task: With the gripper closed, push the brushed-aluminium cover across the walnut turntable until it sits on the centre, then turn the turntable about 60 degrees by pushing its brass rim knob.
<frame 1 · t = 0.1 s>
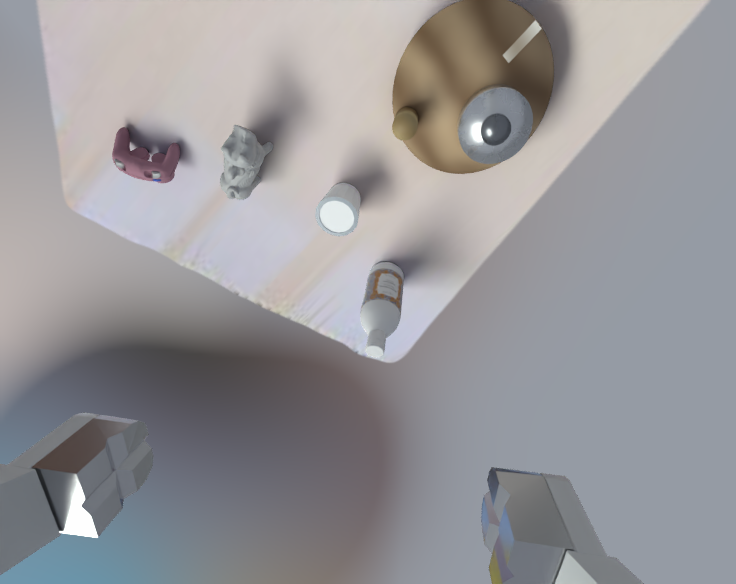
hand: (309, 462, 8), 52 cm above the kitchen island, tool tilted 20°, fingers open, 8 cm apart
cover: (491, 122, 47), point 3 cm above the kitchen island, touching turntable
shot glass: (344, 198, 60), on the kitchen island
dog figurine: (253, 151, 57), on the kitchen island
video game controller: (155, 151, 59), on the kitchen island
bath foam: (386, 274, 69), on the kitchen island
turntable: (470, 99, 44), point 4 cm above the kitchen island, hinge at 0.0°, touching cover
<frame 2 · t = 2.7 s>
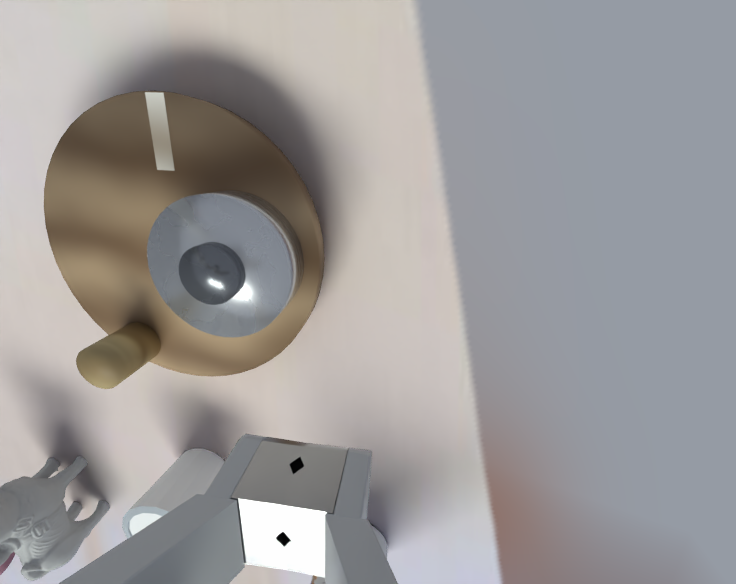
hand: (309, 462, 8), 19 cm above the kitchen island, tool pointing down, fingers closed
cover: (240, 258, 24), point 3 cm above the kitchen island, touching turntable
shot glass: (206, 467, 36), on the kitchen island
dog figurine: (76, 475, 39), on the kitchen island
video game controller: (4, 526, 45), on the kitchen island
turntable: (167, 257, 23), point 4 cm above the kitchen island, hinge at 0.0°, touching cover
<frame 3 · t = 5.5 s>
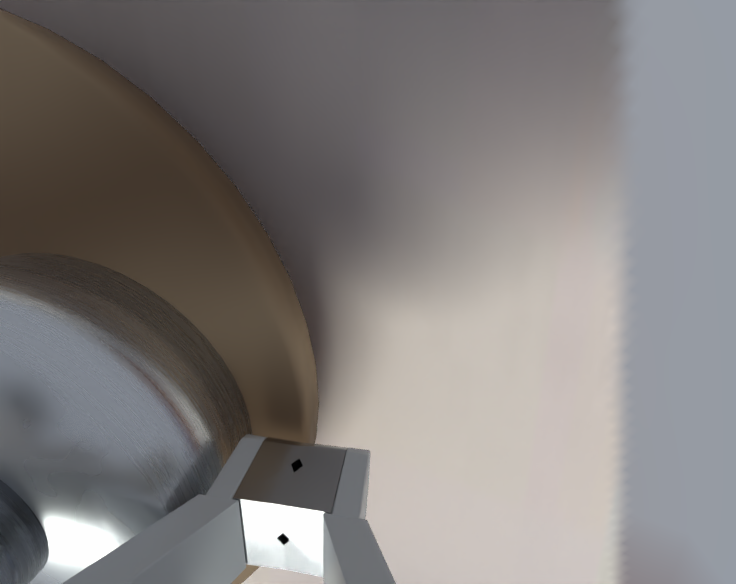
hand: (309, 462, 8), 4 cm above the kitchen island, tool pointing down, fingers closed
cover: (94, 413, 10), point 3 cm above the kitchen island, touching gripper
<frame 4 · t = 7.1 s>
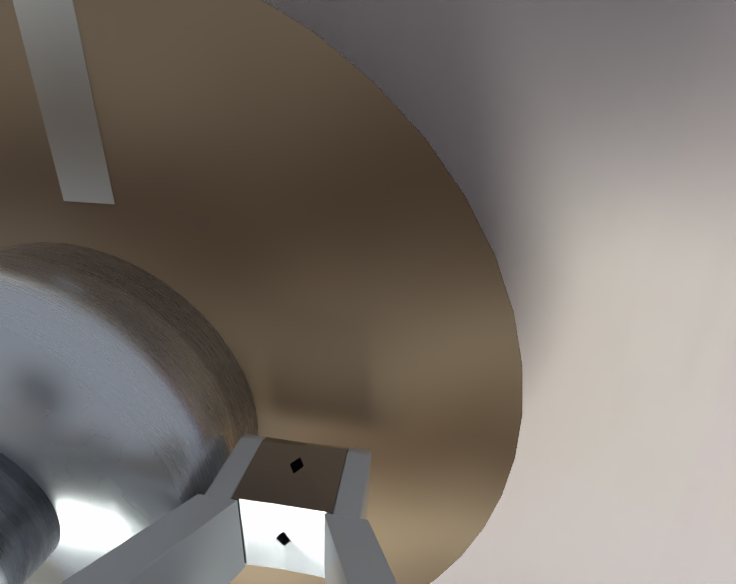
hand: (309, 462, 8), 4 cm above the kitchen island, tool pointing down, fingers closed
cover: (101, 402, 10), point 3 cm above the kitchen island, touching gripper, turntable
turntable: (101, 441, 8), point 4 cm above the kitchen island, hinge at -0.1°, touching cover
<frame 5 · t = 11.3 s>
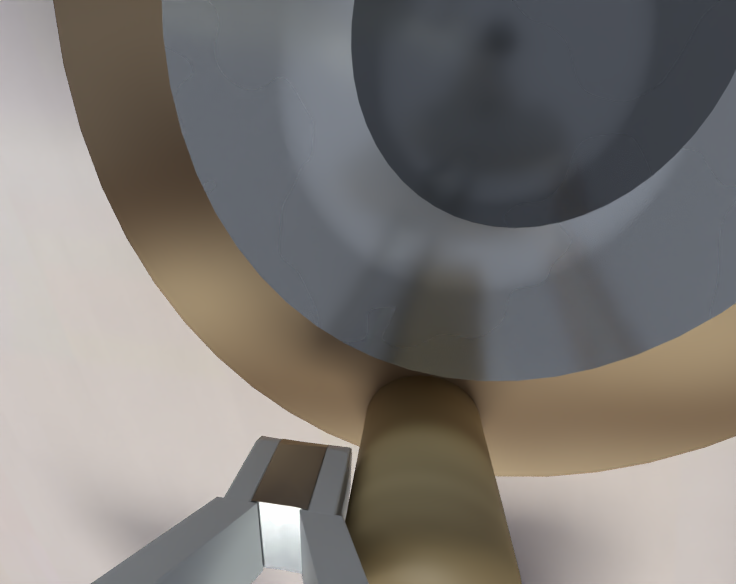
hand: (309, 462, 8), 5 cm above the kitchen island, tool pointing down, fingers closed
cover: (473, 103, 7), point 3 cm above the kitchen island, touching turntable
turntable: (552, 69, 6), point 4 cm above the kitchen island, hinge at 5.6°, touching cover, gripper
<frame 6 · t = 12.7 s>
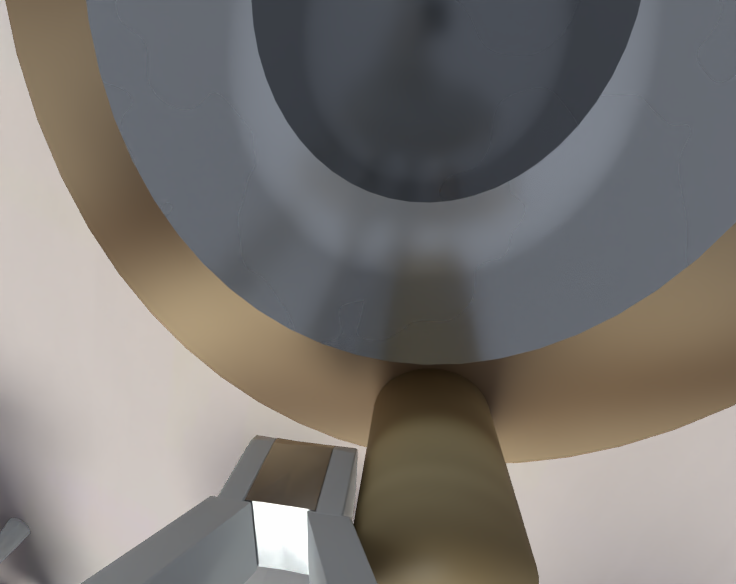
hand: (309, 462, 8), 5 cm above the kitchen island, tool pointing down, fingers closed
cover: (424, 89, 7), point 3 cm above the kitchen island, touching turntable
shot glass: (267, 578, 19), on the kitchen island
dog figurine: (5, 544, 21), on the kitchen island
turntable: (489, 41, 6), point 4 cm above the kitchen island, hinge at 39.8°, touching cover, gripper
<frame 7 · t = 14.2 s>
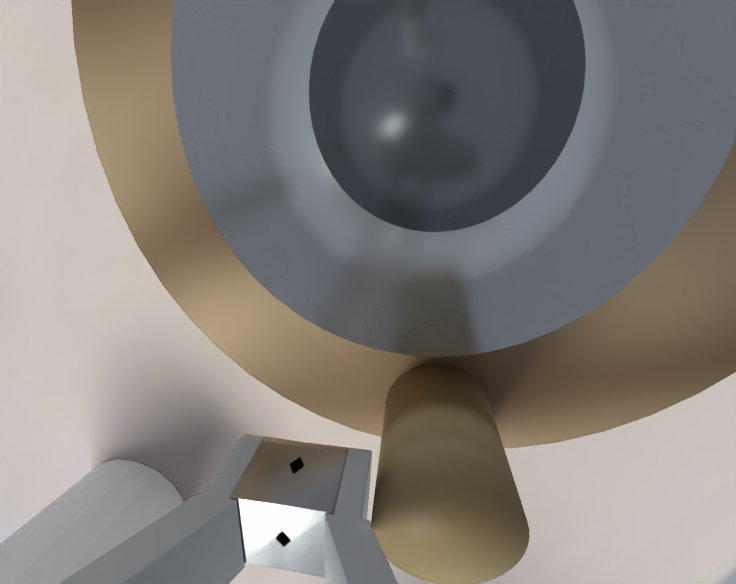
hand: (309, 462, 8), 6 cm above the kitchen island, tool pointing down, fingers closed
cover: (428, 129, 8), point 3 cm above the kitchen island, touching turntable
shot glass: (139, 496, 19), on the kitchen island
turntable: (481, 96, 7), point 4 cm above the kitchen island, hinge at 61.3°, touching cover
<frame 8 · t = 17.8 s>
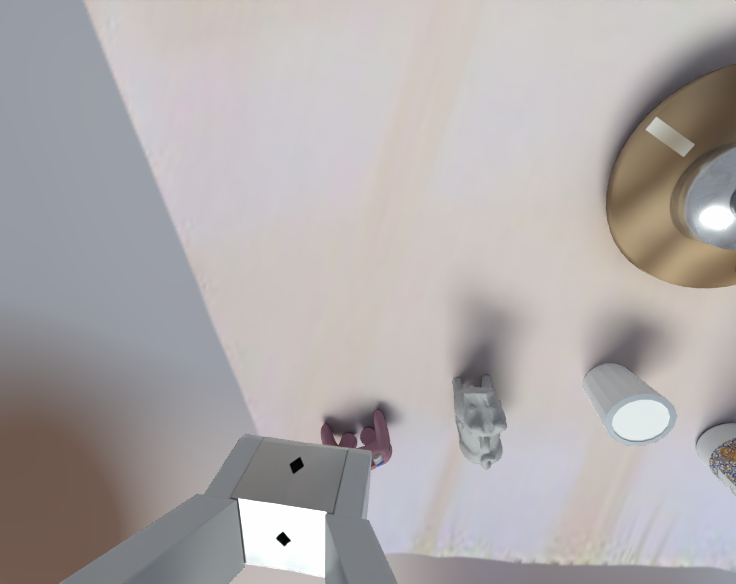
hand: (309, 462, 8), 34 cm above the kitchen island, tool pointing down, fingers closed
cover: (724, 194, 32), point 3 cm above the kitchen island, touching turntable
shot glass: (606, 381, 44), on the kitchen island
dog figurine: (470, 393, 47), on the kitchen island
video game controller: (358, 428, 51), on the kitchen island
bath foam: (723, 441, 45), on the kitchen island
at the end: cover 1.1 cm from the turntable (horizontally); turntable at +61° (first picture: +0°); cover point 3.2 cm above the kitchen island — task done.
